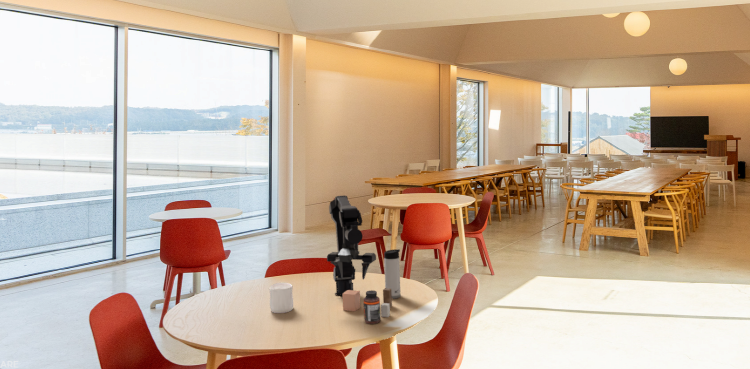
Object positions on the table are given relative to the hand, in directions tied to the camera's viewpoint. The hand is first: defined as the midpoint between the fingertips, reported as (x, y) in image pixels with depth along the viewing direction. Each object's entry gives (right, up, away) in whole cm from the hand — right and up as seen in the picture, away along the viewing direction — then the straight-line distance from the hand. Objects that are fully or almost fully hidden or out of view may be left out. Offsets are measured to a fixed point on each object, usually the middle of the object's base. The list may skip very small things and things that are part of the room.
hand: (352, 278), depth 228 cm
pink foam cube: (0, -12, +1) cm, 12 cm away
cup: (-28, -13, +4) cm, 31 cm away
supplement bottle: (+8, -14, -15) cm, 21 cm away
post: (+14, -11, +2) cm, 18 cm away
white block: (+13, -13, -9) cm, 20 cm away
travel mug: (+17, -10, +15) cm, 25 cm away
